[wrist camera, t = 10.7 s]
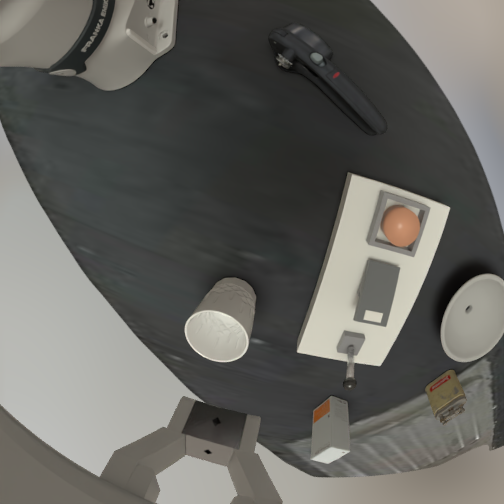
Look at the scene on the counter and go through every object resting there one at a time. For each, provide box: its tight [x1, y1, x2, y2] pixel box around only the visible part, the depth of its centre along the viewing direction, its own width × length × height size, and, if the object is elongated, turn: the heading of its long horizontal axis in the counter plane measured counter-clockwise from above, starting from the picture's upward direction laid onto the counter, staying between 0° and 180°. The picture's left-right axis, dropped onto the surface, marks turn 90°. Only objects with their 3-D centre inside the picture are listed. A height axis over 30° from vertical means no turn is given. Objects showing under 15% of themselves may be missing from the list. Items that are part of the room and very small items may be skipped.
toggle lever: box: [343, 347, 356, 390], centre depth 34 cm, size 2×2×7 cm
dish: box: [441, 274, 504, 362], centre depth 33 cm, size 18×14×5 cm
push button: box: [380, 205, 420, 247], centre depth 29 cm, size 4×4×2 cm
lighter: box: [425, 370, 467, 425], centre depth 37 cm, size 7×4×10 cm, turn 137°
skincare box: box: [311, 396, 350, 464], centre depth 42 cm, size 6×4×12 cm
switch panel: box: [297, 172, 450, 366], centre depth 35 cm, size 26×14×5 cm, turn 169°
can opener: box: [269, 22, 387, 135], centre depth 26 cm, size 18×7×6 cm, turn 44°
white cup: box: [185, 277, 256, 362], centre depth 37 cm, size 8×8×10 cm
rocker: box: [353, 260, 400, 327], centre depth 32 cm, size 8×4×1 cm, turn 170°
